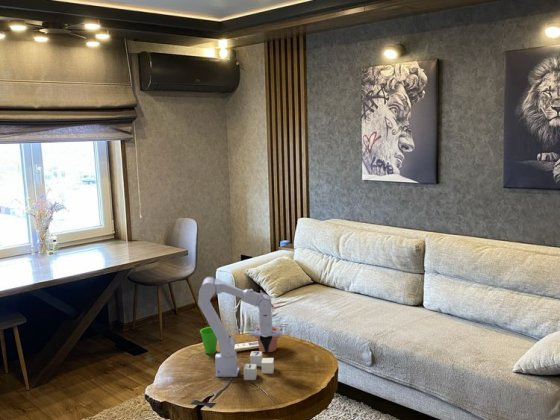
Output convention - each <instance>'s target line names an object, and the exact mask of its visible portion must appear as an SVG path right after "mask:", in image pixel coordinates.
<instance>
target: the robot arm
mask: <svg viewBox="0 0 560 420" xmlns="http://www.w3.org/2000/svg"><path fill="white" fill-rule="evenodd" d="M222 293H225V294H228V295H232V296H234V297H236V298H237V297H238V298H240V299H241V301H242V302H243V303H246V304H248V305H251V306H253V307H257V308H258V328H259V330H258V331H254V330H250V331H249V335H248V336H249V338H253V337H254V336H260V341H261V343H262V344H263V347H264V350H265V352H264V353H270V352H269V345H270V342H271V340H272V336H280V337H279V338H283V336H284V331H282V330H281V331H276V330H272V326H273V314H272V313H273V312H272V308H271V307H272V305H273V303H272V298H271V297H270V296H269V295H268V294H267V293H265V294H262V293H261V292H257V291H254V289H253V288H250V289H249V288H246V289H241V288H238V287H236V286H234V285H232V284H231V283H227V282H225V281H223V280H221V279H219V278H215V277H213V276H206V277H205V278H204V279H203V281H202V282H201V285H200V288H199V291H198V300H197V305H198V307H199V309H200V311H201V313H202V314H203V315H204V317H205V319H206V321H207V323H208V325H209V327H211V328H212V330H213V332H214V334H215V336H216V337H217V345H218V347H219V353H216V354H215V358H214V360H215V361H214V364H215V367H214V368H215V377H227V378H228V377H231V378H232V377H233V378H234V377H236V378H237V377H238V375H239V372H240V367H238V357H237V356H238V355H237V350H236V349H235V347H236V339H235V338H234V337H233V336H232V335H230V333H229V332H228V331H227V330H226V328H225V326H224V325H223V323H222V320H221V319H220V317H219V315H218V313H217V312H216V310H215V308H214V307H213V304H212V302H211V299H212V298H213V296H214V295H215V294H216V295H219V294H222ZM260 293H261V294H260ZM271 303H272V304H271Z"/></svg>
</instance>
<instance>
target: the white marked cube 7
mask: <svg viewBox="0 0 560 420" xmlns="http://www.w3.org/2000/svg"><path fill="white" fill-rule="evenodd" d="M262 358H263V352H262V351H260V350H259V351H255V350H254V351H251V352H250V355H249V364H256V366H257V367H261V362H262Z"/></svg>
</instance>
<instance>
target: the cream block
mask: <svg viewBox="0 0 560 420" xmlns="http://www.w3.org/2000/svg"><path fill="white" fill-rule="evenodd" d="M274 360H275V359H274V357H262V362H261V366H260V367H261V374H274V370H275V361H274Z"/></svg>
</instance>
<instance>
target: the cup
mask: <svg viewBox="0 0 560 420" xmlns="http://www.w3.org/2000/svg"><path fill="white" fill-rule="evenodd" d="M199 333H200V335H201V339H202V344H203V348H204V353H206V354H208V355H212V354H215V353H217V347H218V346H217V345H218V341H217V337H216V336H215V334H214V332H213V330H212V328H211V327H210V326H208V327H207V326H206V327H204V328H203V327H202V329H200V330H199Z"/></svg>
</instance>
